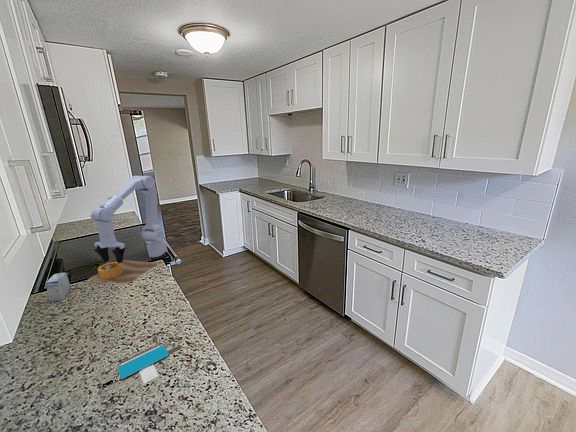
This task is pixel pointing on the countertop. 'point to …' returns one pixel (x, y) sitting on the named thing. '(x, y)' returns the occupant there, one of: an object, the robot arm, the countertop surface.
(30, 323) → the countertop surface
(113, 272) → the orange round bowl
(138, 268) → the walnut board
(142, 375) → the blue panel with block
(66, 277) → the medicine box
